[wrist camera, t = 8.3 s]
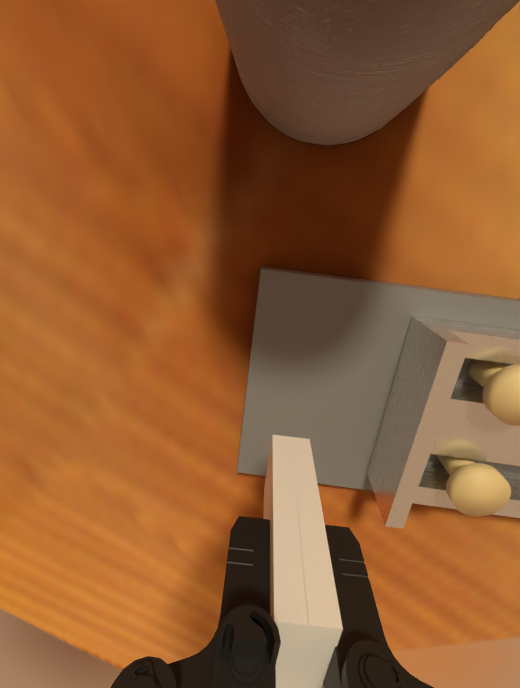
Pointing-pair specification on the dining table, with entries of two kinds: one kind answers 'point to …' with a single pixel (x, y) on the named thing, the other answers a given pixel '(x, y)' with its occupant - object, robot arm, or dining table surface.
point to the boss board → (362, 376)
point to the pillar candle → (348, 57)
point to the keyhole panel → (440, 417)
